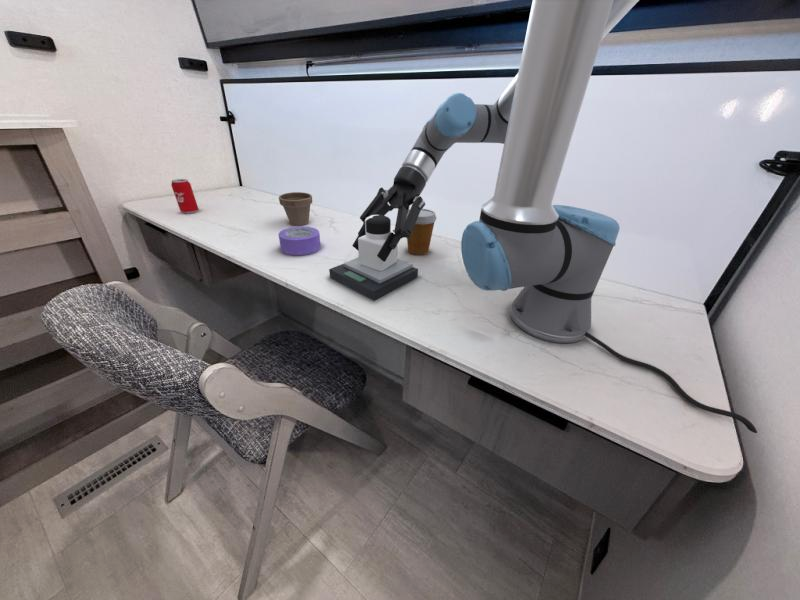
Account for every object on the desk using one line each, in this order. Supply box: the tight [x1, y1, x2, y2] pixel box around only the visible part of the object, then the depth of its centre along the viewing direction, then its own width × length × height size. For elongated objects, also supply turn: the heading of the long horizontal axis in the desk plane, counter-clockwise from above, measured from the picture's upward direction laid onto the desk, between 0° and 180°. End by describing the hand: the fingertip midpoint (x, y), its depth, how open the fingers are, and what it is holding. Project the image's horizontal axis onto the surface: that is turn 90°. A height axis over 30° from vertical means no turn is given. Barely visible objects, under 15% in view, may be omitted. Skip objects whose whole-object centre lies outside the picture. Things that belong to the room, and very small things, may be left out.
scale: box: [328, 256, 419, 302], centre depth 78 cm, size 16×16×4 cm
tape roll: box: [277, 225, 322, 256], centre depth 93 cm, size 12×12×5 cm
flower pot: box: [278, 191, 313, 227], centre depth 111 cm, size 12×11×10 cm
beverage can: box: [170, 178, 199, 214], centre depth 119 cm, size 6×6×12 cm
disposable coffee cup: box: [406, 208, 438, 256], centre depth 91 cm, size 10×10×12 cm
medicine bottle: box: [358, 215, 398, 271], centre depth 75 cm, size 7×7×12 cm
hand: (368, 253), depth 74 cm, fingers closed on medicine bottle, 8 cm apart
